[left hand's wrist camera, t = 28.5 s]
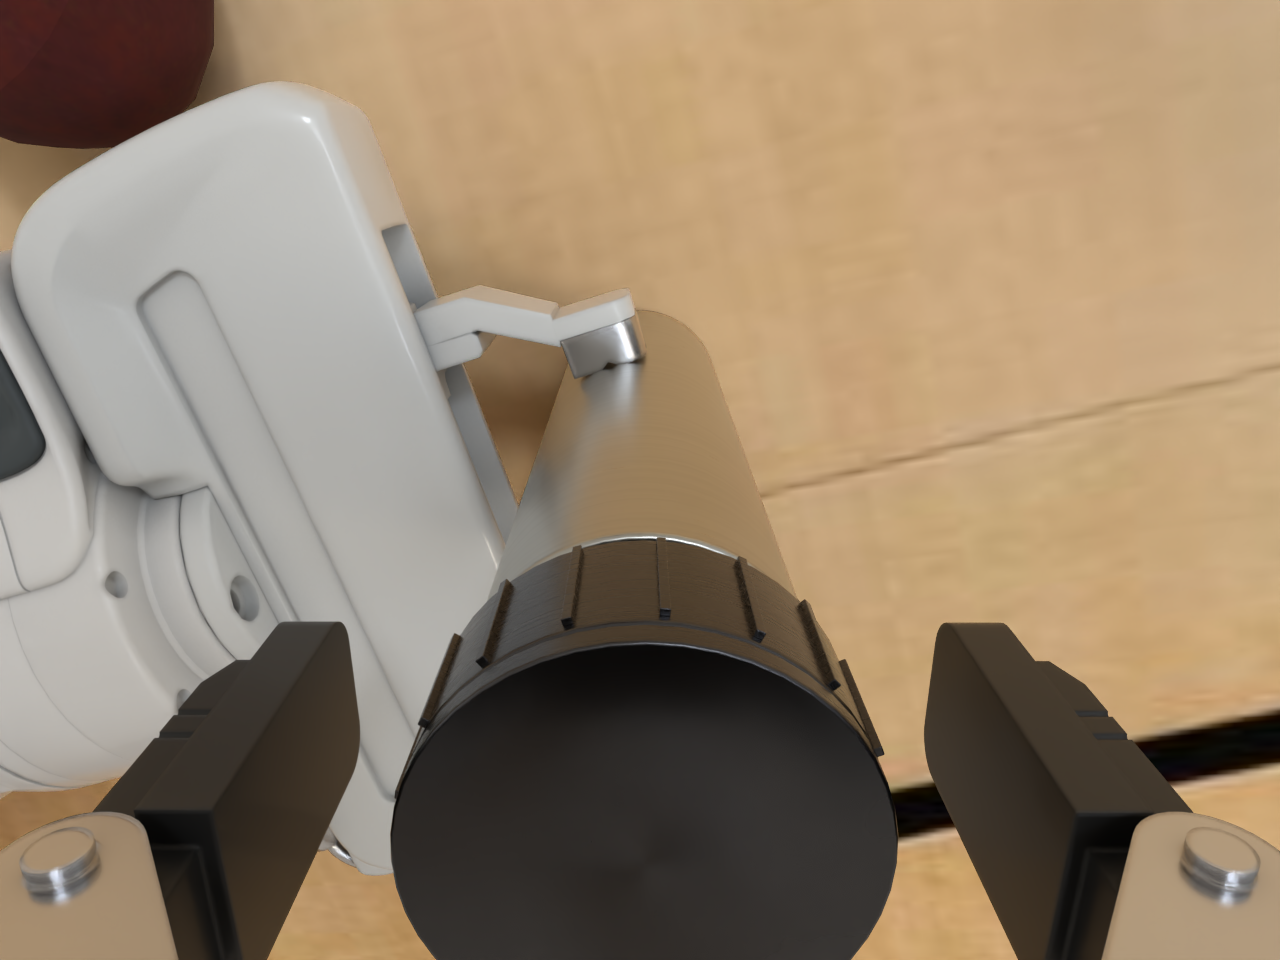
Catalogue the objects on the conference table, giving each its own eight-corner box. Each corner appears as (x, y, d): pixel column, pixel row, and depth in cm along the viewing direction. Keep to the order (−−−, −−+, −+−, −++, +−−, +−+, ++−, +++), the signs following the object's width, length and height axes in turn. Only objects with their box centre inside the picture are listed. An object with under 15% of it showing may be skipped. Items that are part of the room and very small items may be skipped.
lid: (773, 465, 10) (811, 553, 8) (904, 817, 12) (966, 971, 9) (359, 621, 11) (286, 743, 8) (540, 932, 12) (518, 1101, 10)
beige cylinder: (659, 279, 27) (705, 532, 9) (743, 403, 28) (934, 848, 10) (535, 366, 28) (340, 762, 10) (622, 482, 29) (595, 1022, 11)
